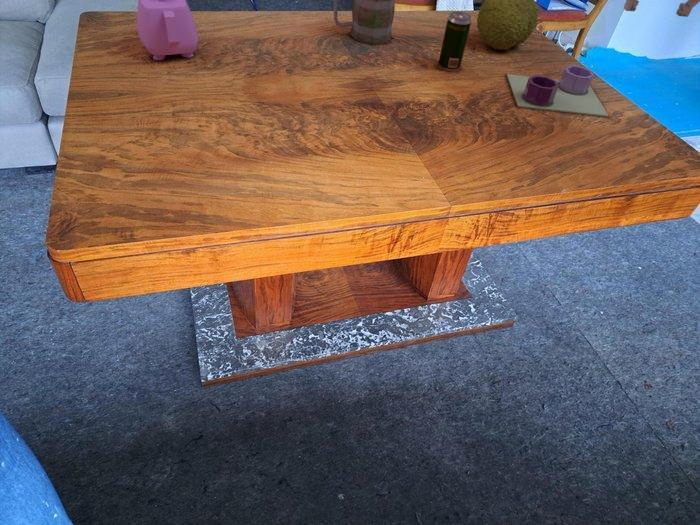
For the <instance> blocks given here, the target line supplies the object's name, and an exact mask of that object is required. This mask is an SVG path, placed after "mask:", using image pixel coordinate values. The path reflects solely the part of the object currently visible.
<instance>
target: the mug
mask: <svg viewBox="0 0 700 525" xmlns="http://www.w3.org/2000/svg"><path fill="white" fill-rule="evenodd" d="M338 7H339V6H338V0H333V20H334V23H335V25H336V26H338V27H340V28H345V27H351V29H350V34H349V35H350V36H351V37H352V38H353V39H354V40H355V41H356V42H359V43H364V44H368V45H380V44H381V45H383V44H387V43H388V42H389V41H390V40H391V39H392V30H393V22H394V17H395V7H396V0H353V3H352V9H351V13H352V14H351V16H352V20H351V21H345V22H340V21H339V19H338Z"/></svg>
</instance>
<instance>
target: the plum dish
mask: <svg viewBox="0 0 700 525" xmlns="http://www.w3.org/2000/svg"><path fill="white" fill-rule="evenodd" d="M529 77H530V78H529V79H528V82H527V85H526V87H525V90H524V99H525V100H526V101H528V102H530V103H532V104H535V105H540V106H546V105H549V104H551V102H552V100H554V97H555V95H556V92H557V89H558V87H559V85H558V83H557V81H555V80H556V79H555V80H553V79H554V78H550V77H549V76H545V75H531V76H529Z"/></svg>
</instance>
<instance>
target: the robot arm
mask: <svg viewBox="0 0 700 525" xmlns="http://www.w3.org/2000/svg"><path fill="white" fill-rule="evenodd" d="M639 3H640V1H639V0H626V1H625V3H624V5H623V10H624V11H626V12H636V10H637V7H638V5H639ZM699 3H700V0H687V1H686V2H680V3H679V5H678V9H677V10H676V12H675V14H676V15H677V16H678V17H683V18H688V17H689V16H690V14H691V12H692V10H693V8H694V7H696V6H697V5H698V4H699Z"/></svg>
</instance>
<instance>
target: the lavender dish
mask: <svg viewBox="0 0 700 525" xmlns="http://www.w3.org/2000/svg"><path fill="white" fill-rule="evenodd" d="M594 76H595V74H594V73H593V71H592V70H590V69H588V68H586V67H583V66H581V65H568V66H566V67H564V69H563V72H562V74H561V77H560V79H559V80H560V85H559V86H560V87H561V88H562V89H563V90H565V91H567V92H569V93H573V94H583V93H585V92H586V91H587V89H588V88H589V86H591V83H592V81H593V79H594Z"/></svg>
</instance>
